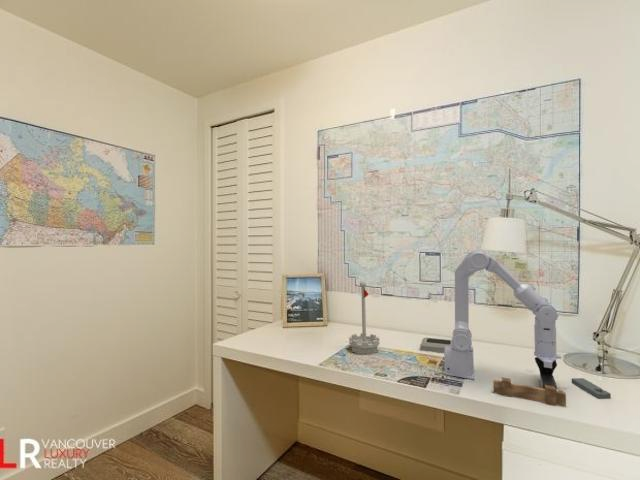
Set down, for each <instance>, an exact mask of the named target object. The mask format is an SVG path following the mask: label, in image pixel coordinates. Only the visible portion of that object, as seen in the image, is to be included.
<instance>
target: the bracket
mask: <svg viewBox="0 0 640 480" xmlns="http://www.w3.org/2000/svg"><path fill="white" fill-rule="evenodd" d="M571 384H573V385H574V386H576V387H577V388H579V389H580V390H582V391H584V392H586V393H587V394H589V395H591V396H592V397H594V398H596V399H597V400H605V399H606V400H608V399H609V400H611V398H612V396H611V395H612V394H611V392H608V391H607V390H604V389H603V388H602V387H600V386H598V385H596V384H594V383H592V382H590V381H589V380H587V379H586V378H583V377H581V378H578V377H577V378H573V377H572V378H571Z"/></svg>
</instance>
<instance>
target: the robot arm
mask: <svg viewBox="0 0 640 480" xmlns="http://www.w3.org/2000/svg"><path fill="white" fill-rule="evenodd" d="M481 270H482V271H483V270H485V271H486V272H489V273H494V274H496V275H497V276H498V277H499V278H500V279H501V280H503V282H504V283H506V284H507V286H509V287H510V288H511V289H512V290H513V296H514V298H516V299H517V300H518V301H519V302H520V303H521V304H522V305H523V306H524V307H526V308H527V310H529V311H530V312H532V314H533V315H534V316H535V317H534V325H533V327H534V329H533V330H534V352H533V355H534V360H535V363H536V366H537V367H538V371H539V374H540V373H542V374H548V375H553V373H554V371H555V369H556V368H557V366H558V363H557V361H556V360H557V359H558V360H559V359H562V355H560V354H558V353H557V326H556V323H557V322H556V321H557V320H558V319H559V318H558V317H559V314H558V312H557V310H556V308H555V307H554V306H553V305H552V304H551V302H549V300H548V298H546V297H543V296H542V295H541V294H540V293H539V292H537V291H536V290H537V289H536V287H535V286H534V285H530V284H529V283H521V282H520V281H519V280H518V279H517V278H516V277H515V276H514V275H513V274H512V273H511V272H510V271H509V270H508V269H507V268H506V267H505V266H503V265H502V263H500V262H499V261H498V260H497V259H495V258H494V257H492V256H491V255H488V254H487V253H486V252H485V251H484V250H481V249H475V250H472V251H471V252H469V253H468V254H467V255H465V257H464V258H463V260H462V261H461V262H460V264H459V265H457V267H456V268H455V270H454V329H453V332H452V337H451V340H452V345H451V346H446V347H445V352H444V353H443V358H444V359H443V360H444V363H443V365H444V366H443V367H444V375H447V376H452V377H458V378H463V379H469V380H475V375H476V372H477V370H476V369H474V366H475V365H474V347H473V346H472V343H473V342H472V332H471V330H470V328H469V325H470V324H469V322H470V321H469V319H470V317H469V316H470V315H469V310H470V309H469V308H470V307H469V306H470V305H469V303H470V302H469V291H470V290H469V278H470V277H471V276H472V275H474V274H476V273H477V272H480V271H481Z"/></svg>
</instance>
